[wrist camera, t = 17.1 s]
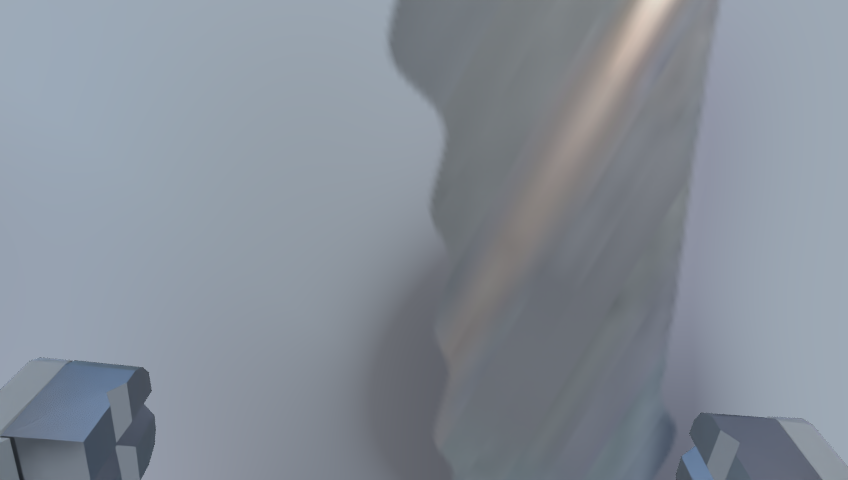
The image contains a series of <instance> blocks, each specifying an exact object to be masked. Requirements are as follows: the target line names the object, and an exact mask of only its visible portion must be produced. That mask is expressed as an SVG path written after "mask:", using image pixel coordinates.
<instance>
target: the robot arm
mask: <svg viewBox="0 0 848 480" xmlns="http://www.w3.org/2000/svg"><path fill="white" fill-rule="evenodd" d="M151 391H152V390H151V384H150V378H149V372H147V371H146V370H145V369H144V368H143V367H134V366H124V365H115V364H105V363H96V362H86V361H76V360H75V361H70V360H63V359H51V358H37V359H34V360H31V361H29V362H28V363H27V364H26V365H25V366H24V367H23V368H22V369H21V370H20V371H19V372H18V373H17V374H16V375H15V376H14V377H13V378H12V379H11V380H10V381H9V382H8V383H7V384H6V385H4V386H3V387H2V388H1V389H0V480H141V478H142V476H143V475H144V473H145V471H146V469H147V467H148V465H149V462H150V458H151V455H152V451H153V448H154V445H155V431H156V427H155V417H154V414H153V413H152V412H151V411H150V410H149V409H148V408H147V407H146V406H145V405H144V402H145V401H146V399H147V397H148V396H149V394H150V393H151ZM689 434H690V436H691V438H692V440H693V442H694V444H695V446H694V447H693V448H692V449H691V450H689V451H688V452H687V453H685V454H684V455H683V456H682V457H681V459H680V463H679V466H678V469H677V473H676V480H848V466H847V465H846V464H845V463H844V461H843V460H842V459H841V458H840V457H839V456H838V454H837V453H836V452H835V451H834V450H833V449H832V447H831V446H830V445H829V444H828V443H827V441H826V440H825V439H824V438H823V436H822V435H821V434H820V433H819V432H818V430H817V429H816V428H815V427H814V426H813V425H812V424H811V423H809V422H807V421H806V420H804V419H801V418H783V417H767V418H764V417H752V416H739V415H725V414H712V413H700V414H699V415H698V417H697V418H696V419H695V420H694V422H693V425H692V428H691V430H690V433H689Z"/></svg>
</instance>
